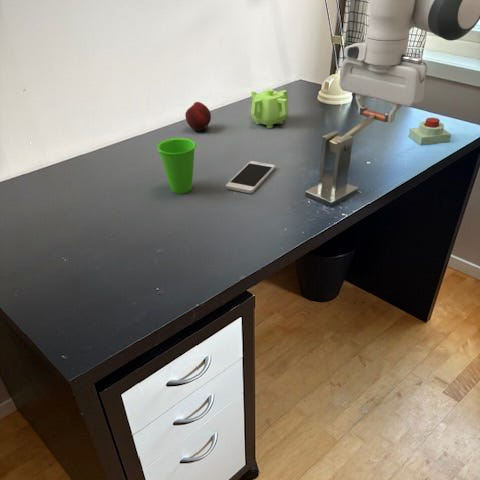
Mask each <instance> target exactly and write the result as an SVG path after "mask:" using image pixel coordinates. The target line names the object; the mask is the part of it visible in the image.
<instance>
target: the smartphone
mask: <svg viewBox="0 0 480 480" xmlns="http://www.w3.org/2000/svg"><path fill="white" fill-rule="evenodd" d="M275 169H276V165H275V164H273V163H265V162H260V161H255V160H254V161H253V160H250V161H249V162H248V163H247V164H246V165H245V166H244V167H243V168H242V169H240V170H239V171H238V173H236V175H234V176H233V177H232V178H231V179H230V180H229V181H228V182H227V183H226V185H225V189H226V190H230V191H231V190H232V191H235V192H242V193H246V194H253V193H254V192H255V191H256V190H257V188H259V187H260V185H261V184H262V183H263V182H264V181H265V180H266V179H267V178H268V177H269V176H270V175H271V173H272V172H274V170H275Z"/></svg>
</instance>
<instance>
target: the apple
mask: <svg viewBox="0 0 480 480" xmlns="http://www.w3.org/2000/svg"><path fill="white" fill-rule="evenodd" d="M184 116H185V121H186V123H187V124H188V126H189V127H190V128H191V129H192V130H194V131H196V132H198V131H199V132H201V131H202V130H204V131H205V130H206V127H208V125H209V124H210V122H211V120H212V114H211V111H210V109H209V108H208V107H207V106H206V105H205V104H204V103H202V102H201V101H195V102H194V103H193V104H192V105H191V106H189V108H187V110H186V112H185V115H184Z"/></svg>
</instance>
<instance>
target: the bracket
mask: <svg viewBox="0 0 480 480" xmlns="http://www.w3.org/2000/svg"><path fill="white" fill-rule="evenodd" d="M339 134H340V131H337V130H333V131H331V132H329V133H327V134H325V135H323V136H322V140H321V141H322V142H321V154H320V164H319V174H318V184H317V185H315V186H313V187H311V188H309V189H307V190H305V193H304V196H305V197H308V198H310V199H312V200H314V201H317V202H319V203H322V204H324V205H326V206H328V207H331V208H333V207H334V206H336V205H338V204H339V203H342V202H343V201H345V200H347V199H349V198H350V197H352V196H354V195H356V194H358V192H359V187H358V186H355V185H352V184H350V183H348V180H349V172H350V165H351V164H350V163H351V156H352V148H353V142H354V136H347V137H345V138H343V139H341V140H339V141H337V149H336V153H334V152H331V151H330V150H329V141H330V140H332V139H333V138H334V137H336V136H337V135H338V136H340V135H339Z"/></svg>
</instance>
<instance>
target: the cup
mask: <svg viewBox="0 0 480 480" xmlns="http://www.w3.org/2000/svg"><path fill="white" fill-rule="evenodd" d="M196 147H197V143H196V142H195V141H194V140H193V139H191V138H186V137H173V138H166V139H164V140H162V141H161V142H159V143H158V144H157V146H156V149H157V151H158V152H159V154H160V158H161V161H162V165H163V168H164V172H165V175H166V178H167V181H168V184H169V188H170V191H172V193H174V194H176V195H177V194H178V195H180V194H181V195H182V194H188V193H189V192H190V191H191V190H192V188H193V179H194V178H193V176H194V163H195V162H194V161H195V149H196Z"/></svg>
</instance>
